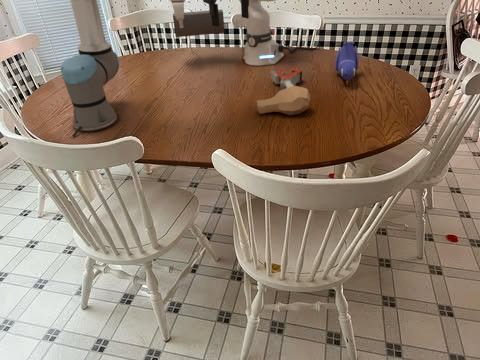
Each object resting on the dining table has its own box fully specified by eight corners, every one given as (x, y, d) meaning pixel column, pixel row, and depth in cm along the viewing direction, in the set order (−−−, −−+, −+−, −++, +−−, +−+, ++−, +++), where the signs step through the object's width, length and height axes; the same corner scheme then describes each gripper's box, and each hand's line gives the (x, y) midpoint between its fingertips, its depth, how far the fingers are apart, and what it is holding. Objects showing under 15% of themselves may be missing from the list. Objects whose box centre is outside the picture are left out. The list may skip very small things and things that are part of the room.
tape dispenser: (295, 102, 142) (315, 82, 154) (296, 90, 138) (316, 70, 151) (257, 92, 149) (279, 74, 162) (257, 81, 146) (279, 63, 158)
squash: (314, 116, 128) (313, 95, 122) (259, 125, 130) (256, 105, 124) (308, 99, 136) (307, 78, 129) (257, 108, 138) (253, 88, 131)
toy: (333, 78, 167) (335, 88, 145) (335, 40, 160) (337, 44, 138) (355, 78, 165) (360, 87, 142) (358, 39, 158) (364, 43, 136)
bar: (223, 30, 177) (222, 9, 172) (224, 32, 173) (223, 11, 167) (176, 34, 176) (173, 13, 170) (176, 37, 171) (172, 15, 165)
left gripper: (246, -57, 116) (248, 13, 129) (185, -50, 103) (195, 27, 115) (263, -57, 112) (264, 15, 124) (202, -50, 98) (210, 31, 111)
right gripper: (170, -9, 171) (175, 21, 179) (169, -2, 155) (174, 31, 163) (184, -10, 172) (188, 20, 180) (184, -3, 155) (188, 30, 163)
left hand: (230, 21), depth 120 cm, fingers open, 13 cm apart
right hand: (181, 26), depth 171 cm, fingers closed on bar, 5 cm apart
